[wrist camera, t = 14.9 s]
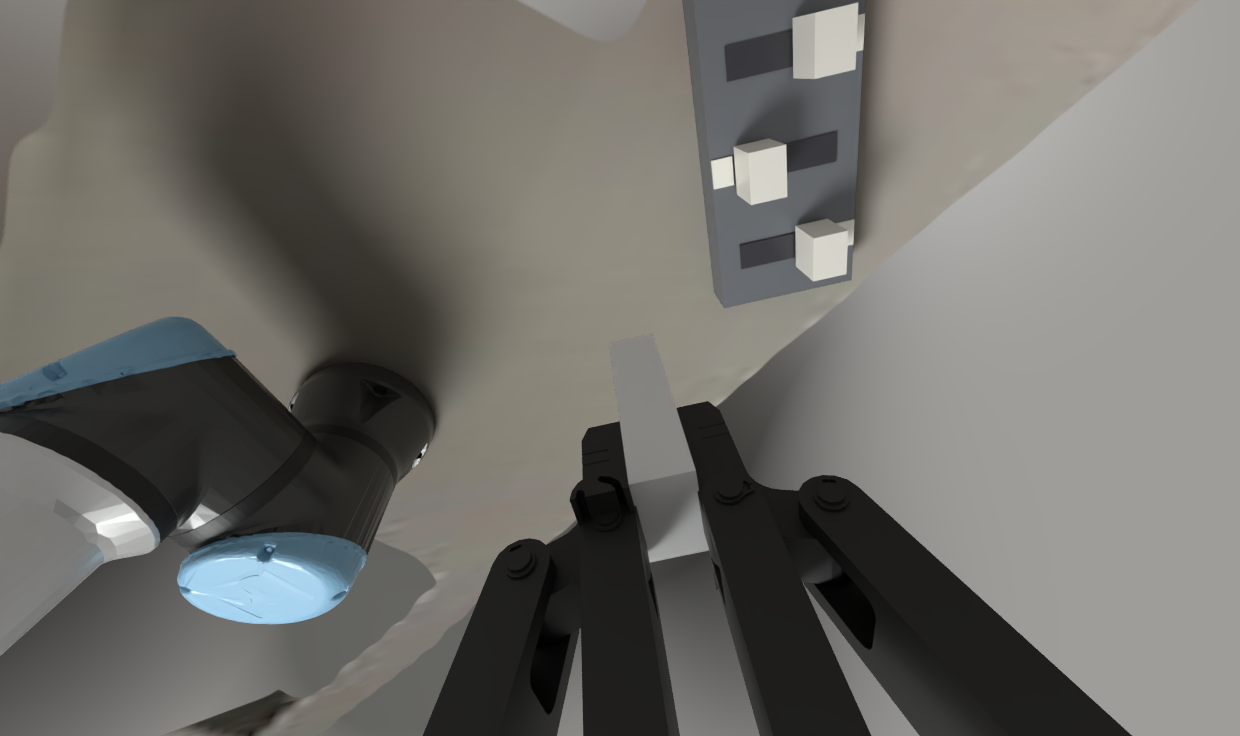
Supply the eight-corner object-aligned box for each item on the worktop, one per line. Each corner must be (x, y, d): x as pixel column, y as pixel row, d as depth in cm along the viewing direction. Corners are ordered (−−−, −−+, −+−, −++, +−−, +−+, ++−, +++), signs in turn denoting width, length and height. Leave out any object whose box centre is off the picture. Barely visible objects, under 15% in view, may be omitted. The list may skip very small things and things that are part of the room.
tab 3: (795, 266, 48) (813, 281, 44) (795, 225, 45) (813, 238, 42) (826, 259, 47) (846, 274, 44) (827, 218, 45) (848, 230, 42)
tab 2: (793, 78, 39) (814, 79, 36) (792, 18, 37) (814, 12, 34) (830, 69, 39) (855, 69, 36) (831, 8, 37) (858, 2, 34)
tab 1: (736, 194, 44) (751, 205, 40) (733, 146, 41) (748, 153, 38) (770, 187, 43) (787, 196, 40) (768, 138, 41) (786, 144, 38)
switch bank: (714, 292, 53) (724, 309, 50) (682, -1, 40) (693, -8, 36) (833, 266, 53) (852, 280, 49) (842, -40, 39) (869, -51, 36)
